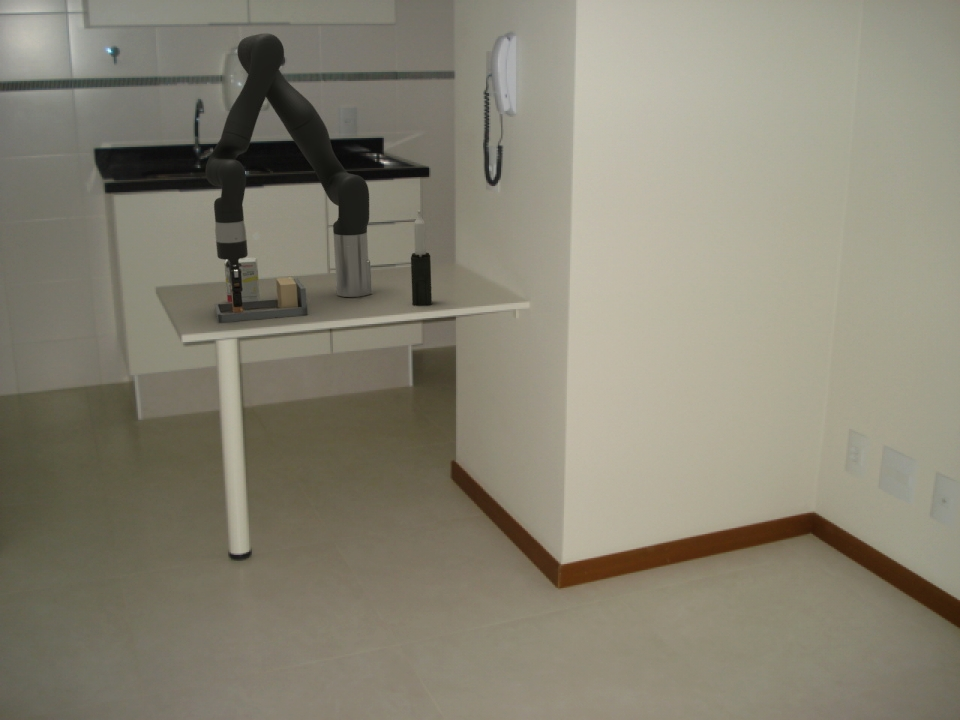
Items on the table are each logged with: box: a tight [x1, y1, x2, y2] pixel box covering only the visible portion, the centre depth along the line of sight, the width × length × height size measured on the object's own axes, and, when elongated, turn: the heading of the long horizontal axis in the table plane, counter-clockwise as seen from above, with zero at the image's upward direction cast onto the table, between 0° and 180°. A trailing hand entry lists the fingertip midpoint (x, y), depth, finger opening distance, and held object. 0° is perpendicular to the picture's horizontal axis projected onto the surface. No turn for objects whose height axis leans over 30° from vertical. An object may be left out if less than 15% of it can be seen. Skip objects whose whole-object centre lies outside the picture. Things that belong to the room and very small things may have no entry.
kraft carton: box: [275, 276, 298, 309], centre depth 262 cm, size 4×9×8 cm, turn 18°
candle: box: [410, 209, 433, 306], centre depth 265 cm, size 5×5×25 cm
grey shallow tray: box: [213, 278, 308, 324], centre depth 260 cm, size 22×13×7 cm, turn 108°
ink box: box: [224, 257, 261, 303], centre depth 271 cm, size 9×5×12 cm, turn 100°
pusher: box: [231, 283, 244, 313], centre depth 258 cm, size 2×10×8 cm, turn 18°
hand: (236, 304), depth 258 cm, fingers closed on pusher, 5 cm apart
